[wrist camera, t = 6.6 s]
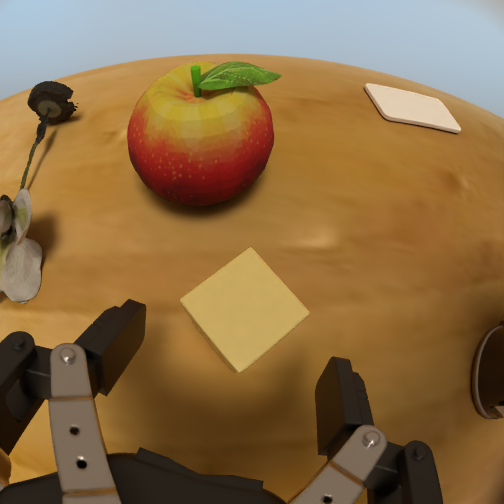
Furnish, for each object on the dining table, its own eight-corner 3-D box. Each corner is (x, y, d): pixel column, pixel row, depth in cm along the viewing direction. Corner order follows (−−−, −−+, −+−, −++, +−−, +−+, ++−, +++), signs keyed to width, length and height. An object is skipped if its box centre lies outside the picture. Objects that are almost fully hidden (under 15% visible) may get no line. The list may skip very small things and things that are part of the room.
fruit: (143, 137, 25) (123, 50, 16) (254, 125, 27) (266, 37, 17) (140, 236, 21) (94, 145, 12) (279, 218, 23) (311, 121, 13)
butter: (241, 291, 20) (250, 245, 13) (280, 335, 19) (311, 312, 12) (195, 326, 19) (178, 299, 12) (234, 373, 18) (239, 374, 11)
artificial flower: (98, 117, 28) (96, 52, 19) (52, 314, 21) (7, 303, 12) (37, 114, 25) (22, 55, 16) (-19, 300, 18) (-75, 281, 9)
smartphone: (363, 82, 32) (439, 99, 33) (361, 86, 32) (437, 102, 34) (386, 116, 29) (463, 131, 31) (384, 120, 30) (460, 135, 31)
